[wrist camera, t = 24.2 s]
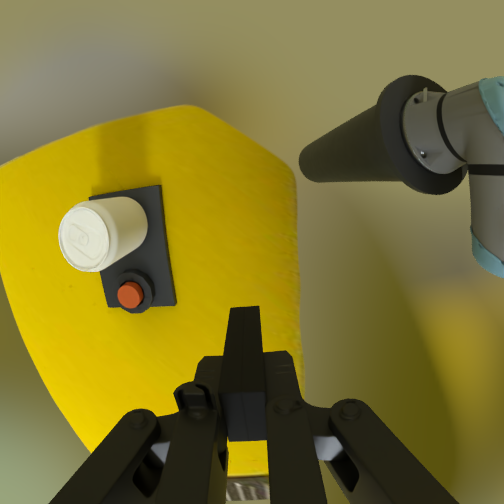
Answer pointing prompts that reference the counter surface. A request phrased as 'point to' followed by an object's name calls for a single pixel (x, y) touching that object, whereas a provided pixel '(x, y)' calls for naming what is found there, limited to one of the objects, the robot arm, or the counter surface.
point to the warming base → (143, 256)
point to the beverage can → (101, 232)
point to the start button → (130, 294)
